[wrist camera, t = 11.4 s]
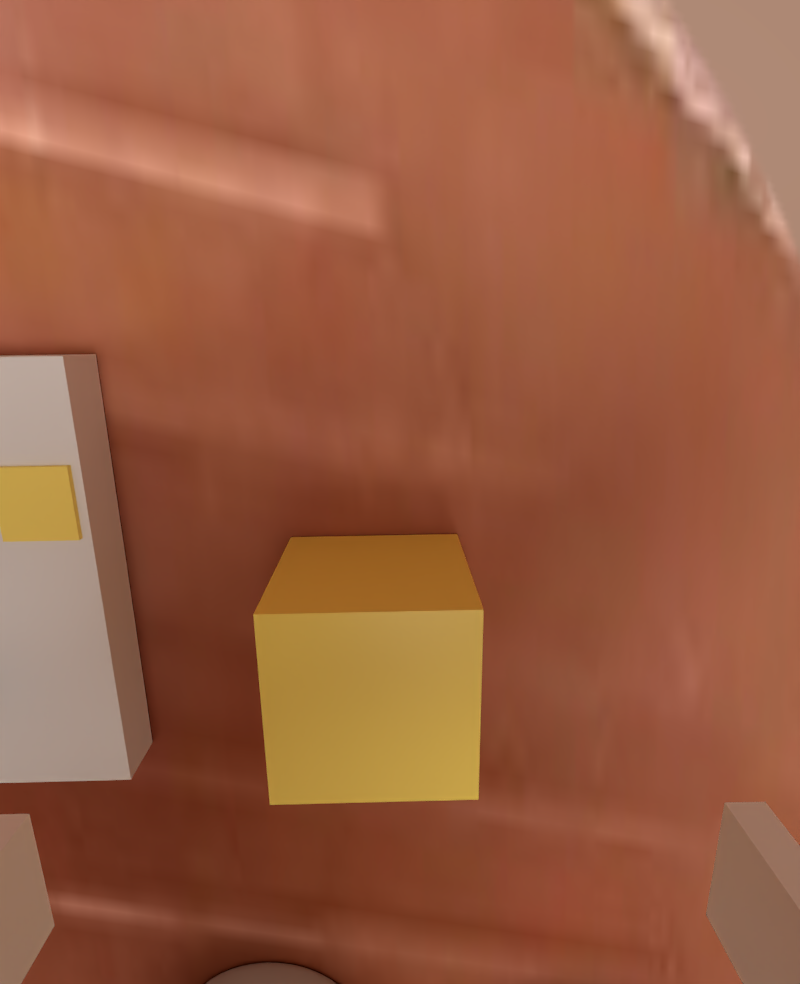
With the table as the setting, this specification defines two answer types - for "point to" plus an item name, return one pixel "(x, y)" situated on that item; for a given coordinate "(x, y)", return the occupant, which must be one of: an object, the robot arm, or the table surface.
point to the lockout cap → (371, 671)
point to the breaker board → (63, 583)
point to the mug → (270, 975)
